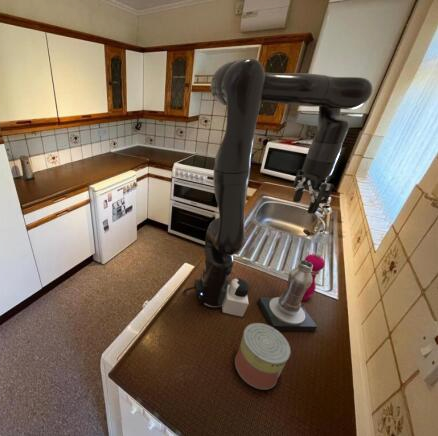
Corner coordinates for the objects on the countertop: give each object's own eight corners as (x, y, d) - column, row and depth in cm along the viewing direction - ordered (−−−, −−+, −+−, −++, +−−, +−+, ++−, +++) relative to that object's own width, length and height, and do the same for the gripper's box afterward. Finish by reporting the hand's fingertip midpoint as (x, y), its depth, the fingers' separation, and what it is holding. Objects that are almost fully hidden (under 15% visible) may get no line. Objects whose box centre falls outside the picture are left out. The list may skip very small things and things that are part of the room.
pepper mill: (313, 303, 88) (335, 260, 79) (292, 300, 90) (311, 258, 80) (306, 289, 95) (325, 248, 85) (287, 286, 96) (303, 245, 86)
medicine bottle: (240, 301, 89) (250, 278, 83) (242, 317, 83) (253, 293, 77) (221, 297, 90) (229, 273, 84) (222, 312, 84) (231, 288, 78)
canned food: (274, 399, 61) (288, 373, 55) (230, 374, 66) (238, 347, 60) (279, 361, 69) (292, 335, 63) (240, 342, 74) (248, 316, 69)
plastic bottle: (295, 304, 84) (315, 259, 74) (299, 319, 78) (321, 273, 68) (275, 299, 86) (292, 255, 76) (277, 314, 80) (296, 268, 70)
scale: (271, 330, 78) (274, 324, 77) (257, 301, 89) (259, 295, 87) (314, 331, 78) (318, 325, 77) (295, 302, 89) (297, 296, 87)
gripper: (295, 151, 76) (281, 198, 83) (324, 164, 63) (304, 217, 71) (319, 151, 76) (302, 198, 83) (352, 164, 63) (329, 217, 71)
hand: (303, 207), depth 77 cm, fingers open, 8 cm apart
